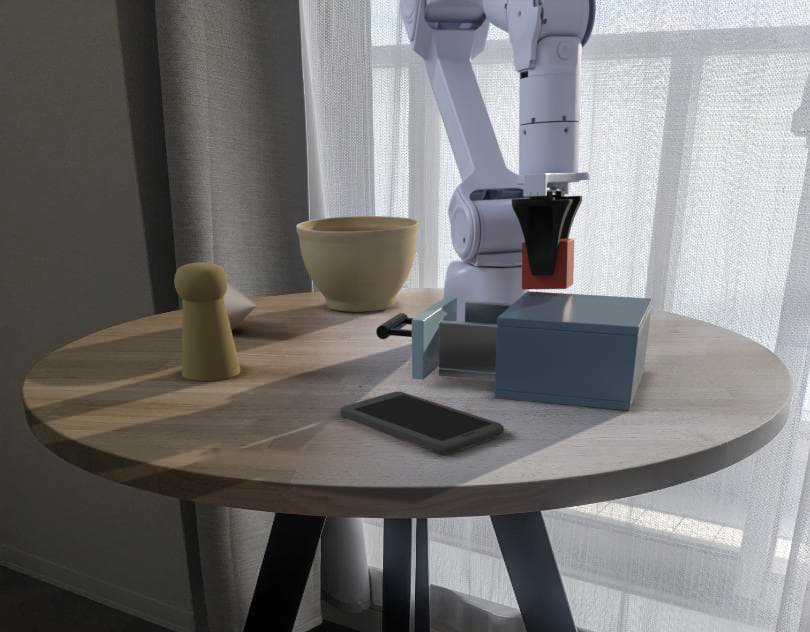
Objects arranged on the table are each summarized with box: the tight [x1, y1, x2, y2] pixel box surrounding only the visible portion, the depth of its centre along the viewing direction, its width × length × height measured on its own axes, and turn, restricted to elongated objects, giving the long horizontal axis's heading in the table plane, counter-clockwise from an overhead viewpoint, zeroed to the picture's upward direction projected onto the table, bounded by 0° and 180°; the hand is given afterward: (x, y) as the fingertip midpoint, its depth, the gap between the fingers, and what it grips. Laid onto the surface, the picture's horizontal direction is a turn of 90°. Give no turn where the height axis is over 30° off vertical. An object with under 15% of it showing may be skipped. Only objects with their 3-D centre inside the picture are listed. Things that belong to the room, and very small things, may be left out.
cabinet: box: [494, 290, 653, 411], centre depth 84 cm, size 13×13×8 cm
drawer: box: [375, 296, 512, 382], centre depth 87 cm, size 16×11×6 cm
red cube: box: [522, 238, 575, 290], centre depth 88 cm, size 4×4×4 cm
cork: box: [173, 261, 241, 382], centre depth 88 cm, size 6×6×11 cm
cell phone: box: [339, 391, 505, 454], centre depth 75 cm, size 7×14×1 cm, turn 42°
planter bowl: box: [295, 215, 420, 313], centre depth 117 cm, size 16×16×11 cm
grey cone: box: [224, 281, 257, 331], centre depth 105 cm, size 6×6×15 cm
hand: (546, 272), depth 88 cm, fingers closed on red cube, 4 cm apart
